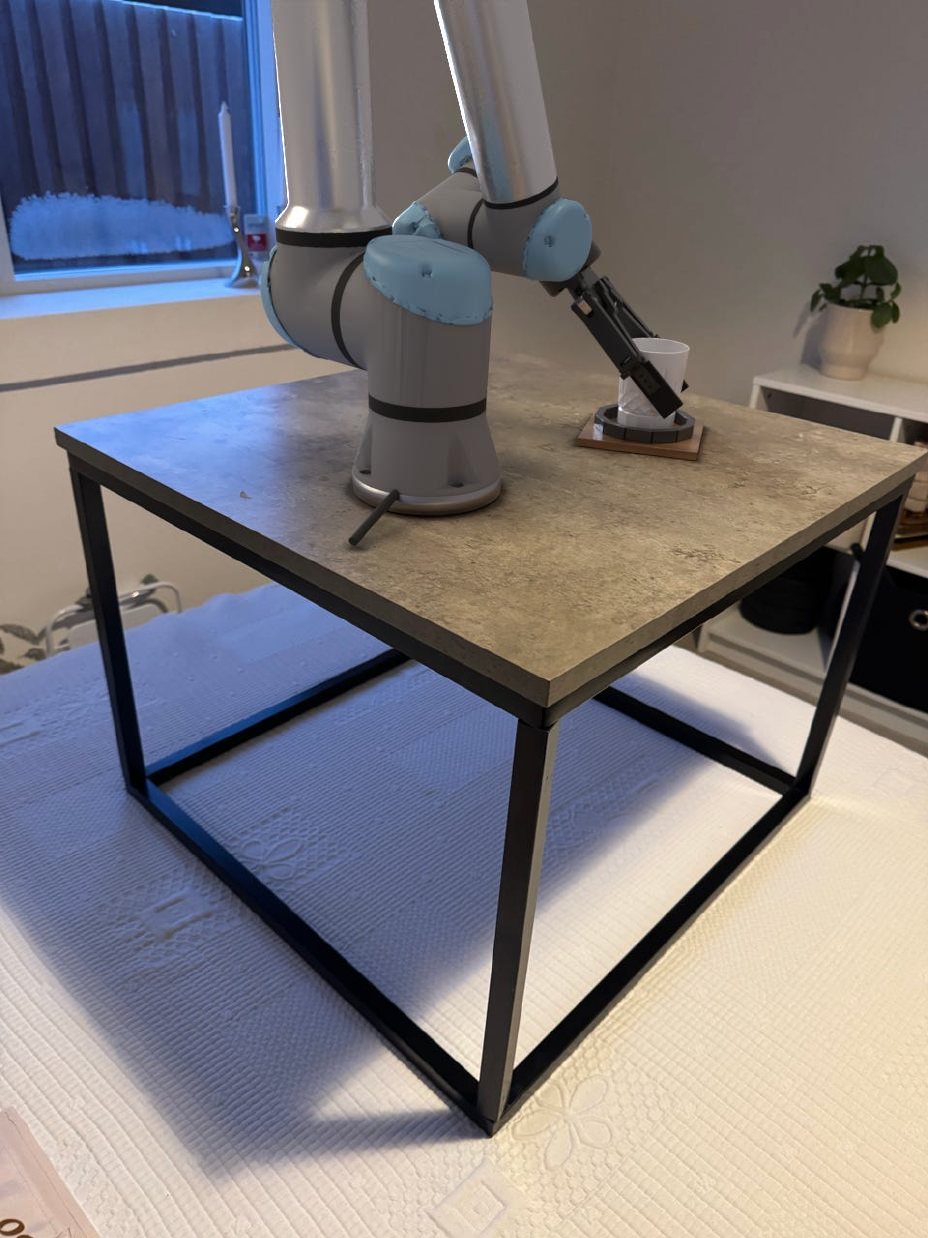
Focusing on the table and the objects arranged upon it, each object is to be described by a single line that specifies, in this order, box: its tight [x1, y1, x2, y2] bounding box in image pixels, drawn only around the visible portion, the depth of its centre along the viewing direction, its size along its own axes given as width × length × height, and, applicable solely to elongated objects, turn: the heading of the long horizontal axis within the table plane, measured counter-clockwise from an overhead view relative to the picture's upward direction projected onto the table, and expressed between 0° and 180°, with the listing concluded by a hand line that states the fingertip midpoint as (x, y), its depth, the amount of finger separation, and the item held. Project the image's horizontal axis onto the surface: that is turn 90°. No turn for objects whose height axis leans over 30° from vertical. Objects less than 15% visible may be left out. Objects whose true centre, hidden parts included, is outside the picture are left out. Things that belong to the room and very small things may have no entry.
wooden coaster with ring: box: [576, 402, 705, 461], centre depth 106 cm, size 14×14×2 cm
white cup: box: [617, 338, 691, 429], centre depth 104 cm, size 8×8×10 cm
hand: (676, 401), depth 104 cm, fingers closed on white cup, 8 cm apart
